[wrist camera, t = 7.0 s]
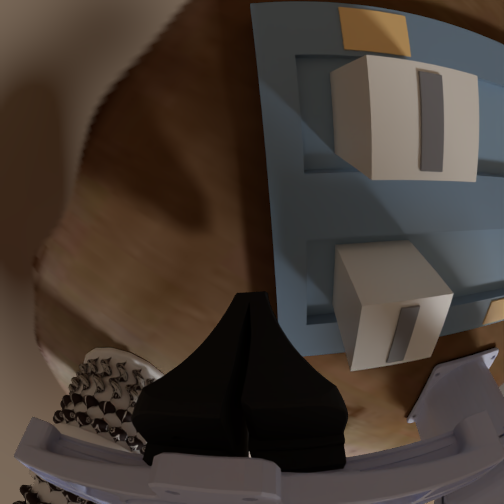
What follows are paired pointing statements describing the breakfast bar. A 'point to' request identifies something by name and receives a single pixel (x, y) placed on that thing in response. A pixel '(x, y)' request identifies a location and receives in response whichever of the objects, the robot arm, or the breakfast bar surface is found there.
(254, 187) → the breakfast bar surface
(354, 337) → the white block
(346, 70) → the white striped block
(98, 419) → the decorative candle
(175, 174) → the breakfast bar surface
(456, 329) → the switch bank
